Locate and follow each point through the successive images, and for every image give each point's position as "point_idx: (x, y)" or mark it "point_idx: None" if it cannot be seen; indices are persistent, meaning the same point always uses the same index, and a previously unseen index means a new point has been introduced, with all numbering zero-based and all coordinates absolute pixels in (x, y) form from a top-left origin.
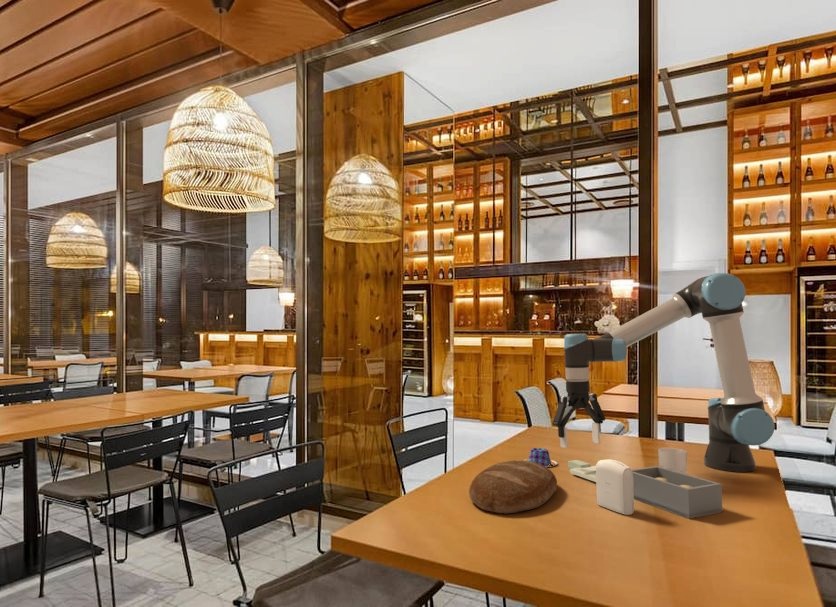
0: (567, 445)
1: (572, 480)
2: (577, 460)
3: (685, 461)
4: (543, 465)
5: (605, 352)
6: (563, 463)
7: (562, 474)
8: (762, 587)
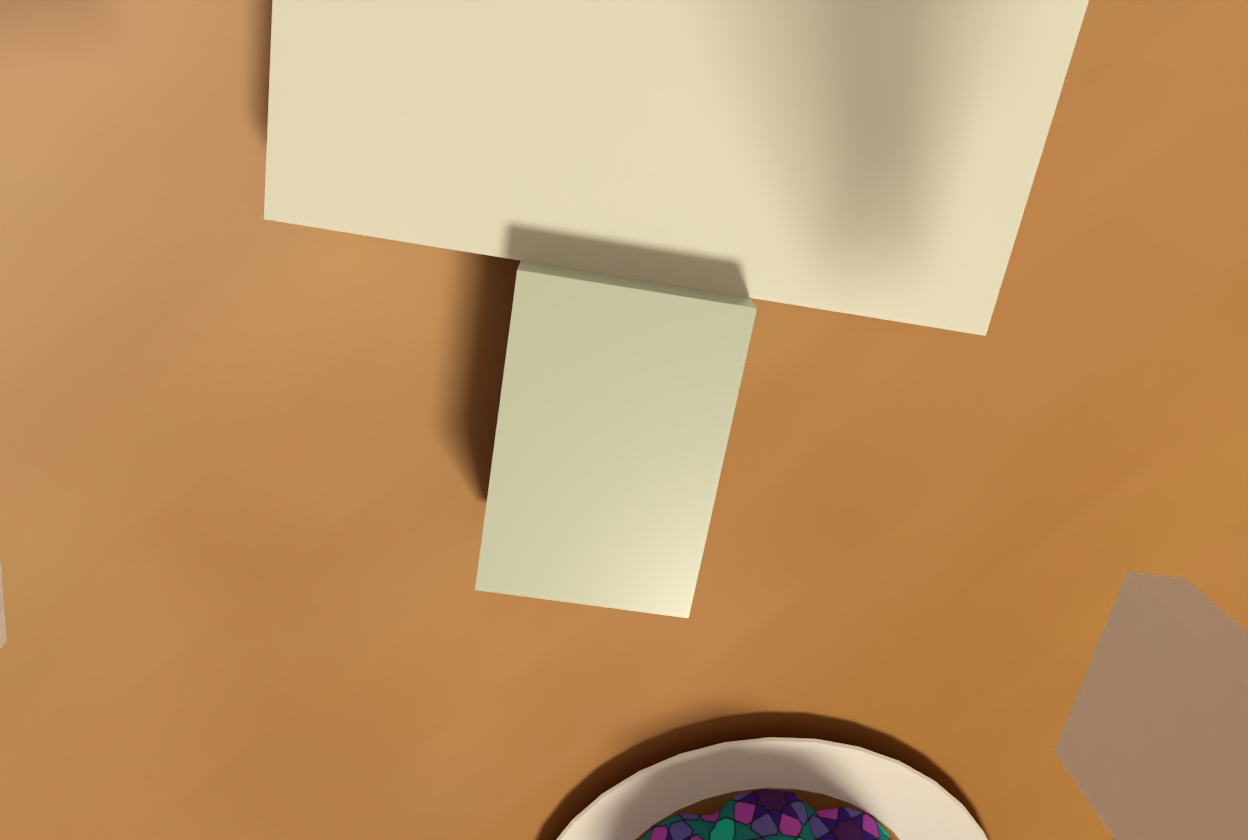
0: (1175, 610)
1: (1210, 59)
2: (510, 561)
3: None
4: (842, 821)
5: None
6: (461, 788)
7: (1003, 398)
8: None
